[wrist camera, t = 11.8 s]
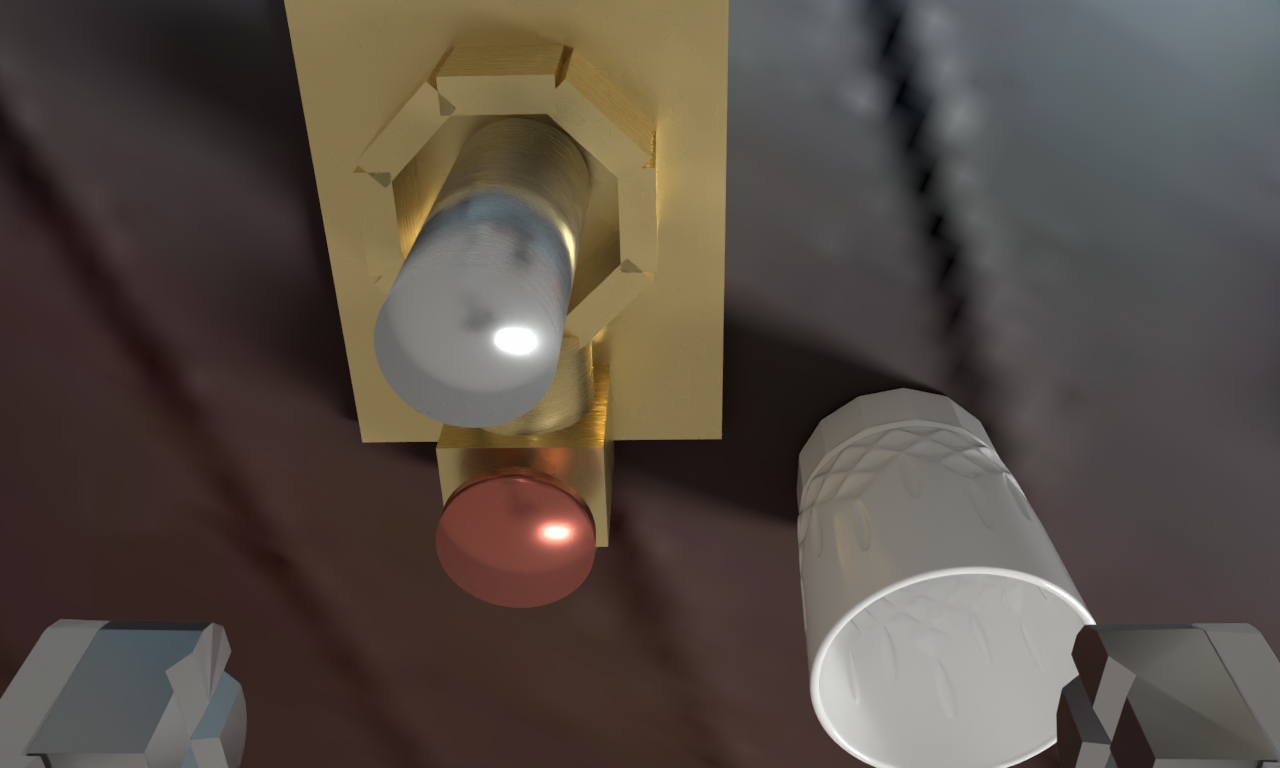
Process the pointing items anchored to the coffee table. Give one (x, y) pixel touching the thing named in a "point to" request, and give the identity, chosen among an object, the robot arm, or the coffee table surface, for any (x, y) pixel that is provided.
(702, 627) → the coffee table surface
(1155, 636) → the robot arm
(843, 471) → the white cup
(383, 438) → the brass valve fitting
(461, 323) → the silver metal cylinder
